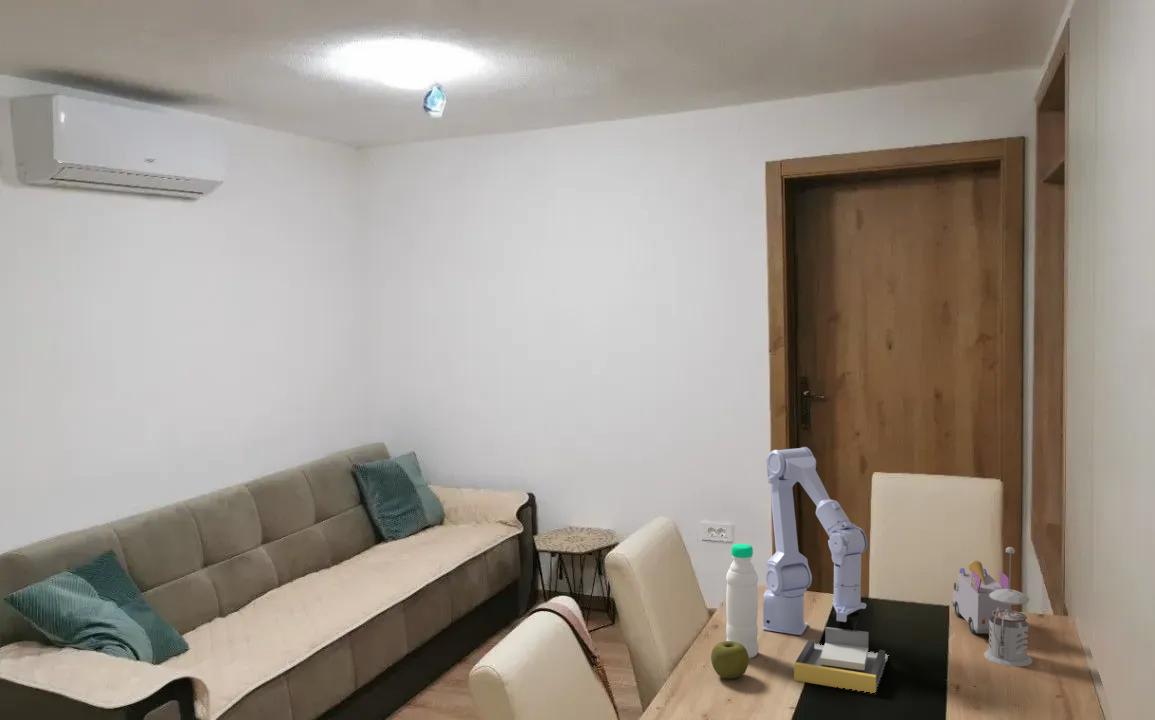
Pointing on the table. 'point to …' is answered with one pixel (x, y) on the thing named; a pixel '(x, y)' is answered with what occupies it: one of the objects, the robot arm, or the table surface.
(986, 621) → the toy vehicle
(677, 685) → the table surface
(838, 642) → the grey angled piece
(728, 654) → the apple
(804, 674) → the dock
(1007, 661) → the french press
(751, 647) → the water bottle
